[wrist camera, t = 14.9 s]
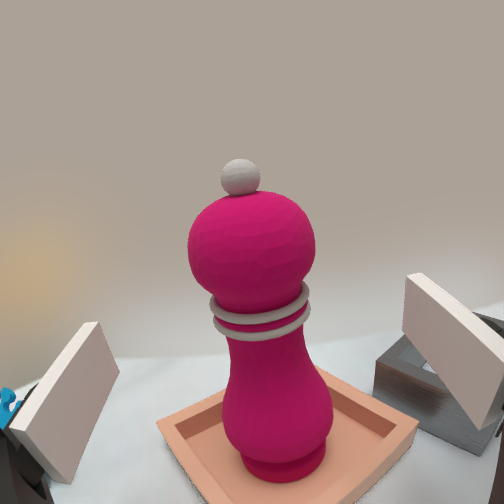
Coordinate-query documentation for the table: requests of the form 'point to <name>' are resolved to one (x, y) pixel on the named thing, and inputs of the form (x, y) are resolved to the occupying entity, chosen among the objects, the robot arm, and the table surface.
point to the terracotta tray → (313, 485)
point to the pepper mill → (263, 324)
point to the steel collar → (427, 396)
